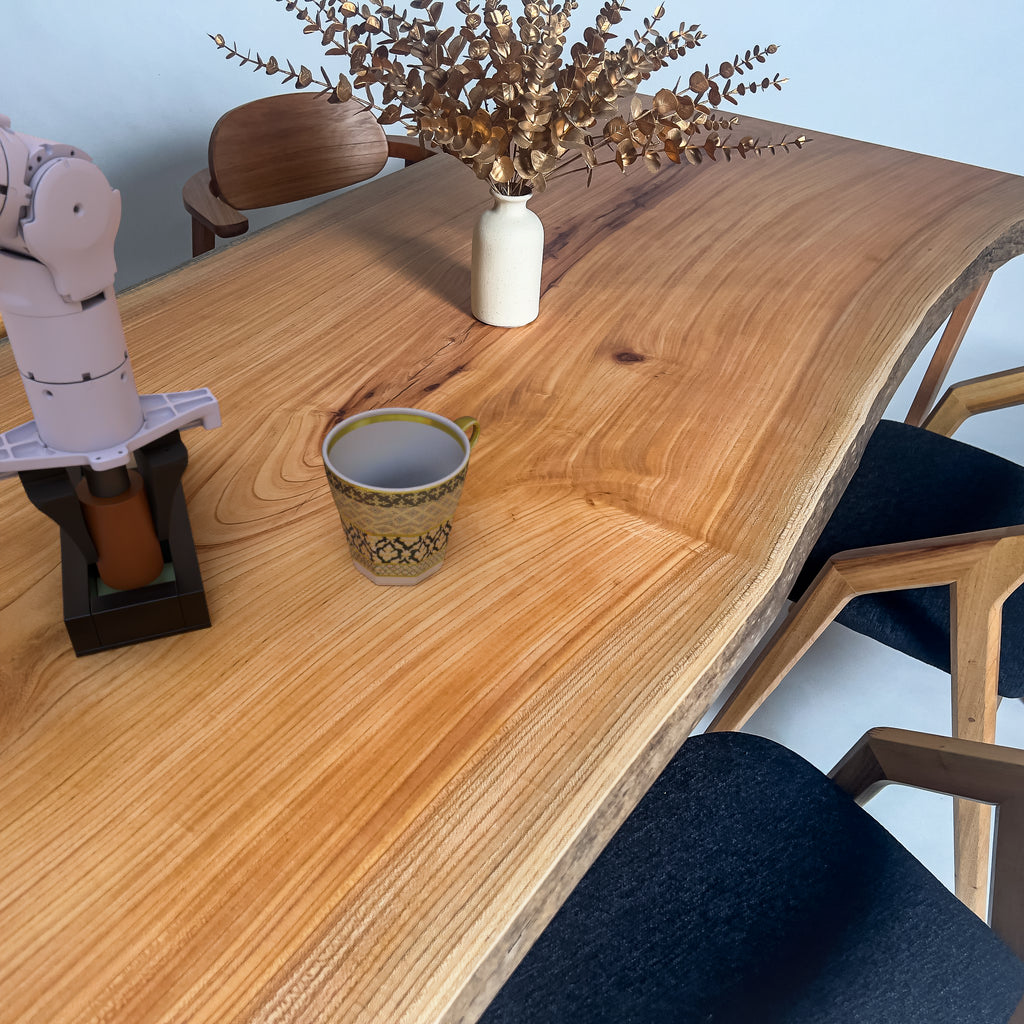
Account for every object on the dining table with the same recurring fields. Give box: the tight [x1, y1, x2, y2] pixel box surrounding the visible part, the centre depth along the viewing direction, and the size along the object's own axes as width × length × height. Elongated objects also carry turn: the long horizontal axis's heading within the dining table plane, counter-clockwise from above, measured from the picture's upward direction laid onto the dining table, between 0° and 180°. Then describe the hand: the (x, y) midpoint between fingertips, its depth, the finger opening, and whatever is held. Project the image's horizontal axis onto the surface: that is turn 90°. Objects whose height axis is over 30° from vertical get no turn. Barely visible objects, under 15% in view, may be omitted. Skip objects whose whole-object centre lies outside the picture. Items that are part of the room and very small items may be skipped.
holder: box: [59, 465, 213, 658], centre depth 66 cm, size 8×22×3 cm, turn 22°
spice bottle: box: [76, 464, 164, 590], centre depth 58 cm, size 4×4×9 cm
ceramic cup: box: [321, 406, 481, 587], centre depth 65 cm, size 13×10×10 cm
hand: (124, 542), depth 59 cm, fingers closed on spice bottle, 4 cm apart
